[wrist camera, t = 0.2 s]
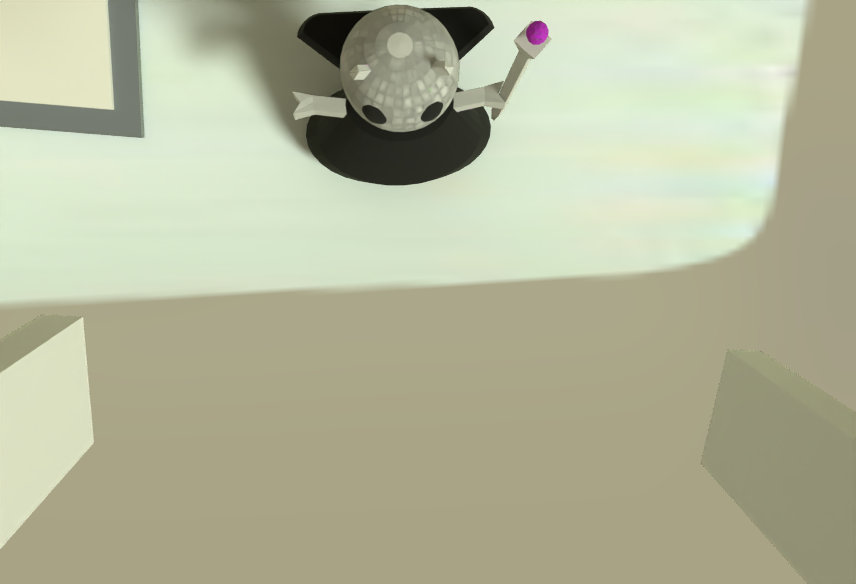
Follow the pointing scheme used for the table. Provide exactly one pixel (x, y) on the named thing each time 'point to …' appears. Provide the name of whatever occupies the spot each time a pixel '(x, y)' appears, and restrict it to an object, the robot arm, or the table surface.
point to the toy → (404, 91)
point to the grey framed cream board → (71, 66)
